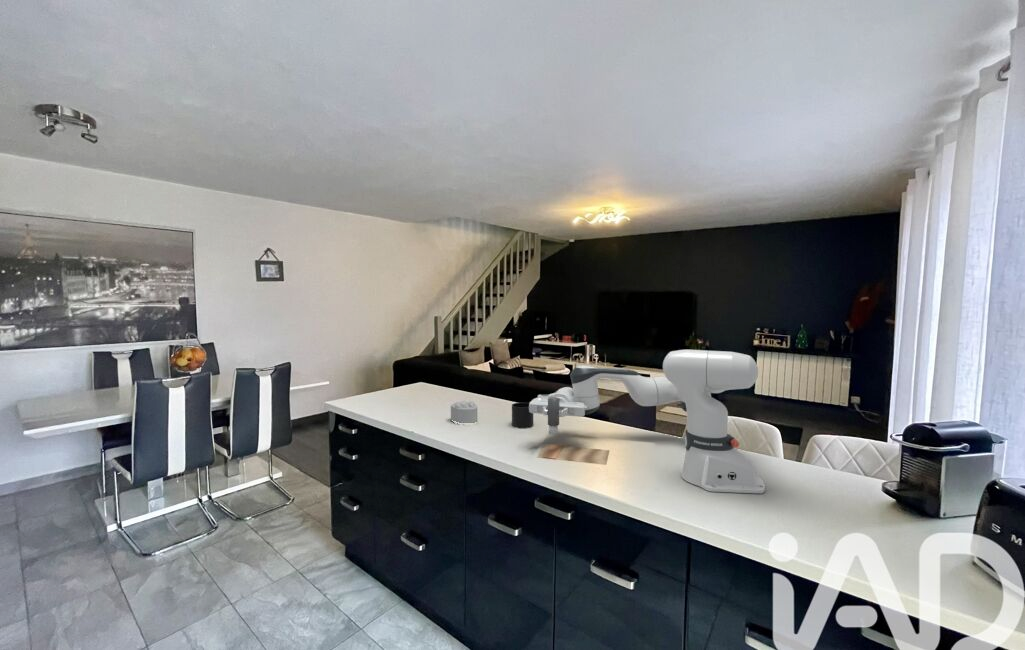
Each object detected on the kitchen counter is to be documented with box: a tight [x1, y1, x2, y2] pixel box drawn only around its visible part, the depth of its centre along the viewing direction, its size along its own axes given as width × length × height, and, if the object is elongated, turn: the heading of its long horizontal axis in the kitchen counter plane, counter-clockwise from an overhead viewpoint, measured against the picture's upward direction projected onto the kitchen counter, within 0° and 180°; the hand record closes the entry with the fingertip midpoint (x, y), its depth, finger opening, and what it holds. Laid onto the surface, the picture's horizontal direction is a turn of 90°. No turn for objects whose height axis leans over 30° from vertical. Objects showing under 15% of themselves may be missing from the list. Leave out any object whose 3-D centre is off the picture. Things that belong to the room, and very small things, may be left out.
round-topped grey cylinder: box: [547, 397, 560, 435], centre depth 148 cm, size 4×4×12 cm
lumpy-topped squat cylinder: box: [450, 400, 478, 423], centre depth 192 cm, size 10×13×9 cm
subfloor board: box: [536, 443, 610, 466], centre depth 147 cm, size 23×14×2 cm, turn 73°
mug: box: [511, 401, 534, 429], centre depth 187 cm, size 9×12×9 cm
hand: (552, 413), depth 147 cm, fingers closed on round-topped grey cylinder, 4 cm apart
